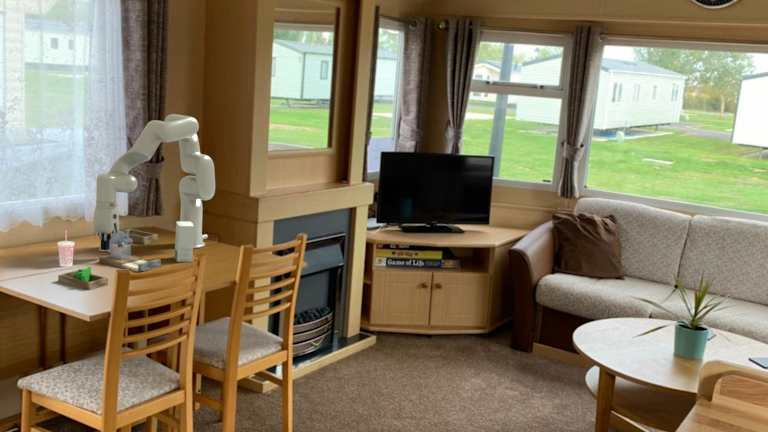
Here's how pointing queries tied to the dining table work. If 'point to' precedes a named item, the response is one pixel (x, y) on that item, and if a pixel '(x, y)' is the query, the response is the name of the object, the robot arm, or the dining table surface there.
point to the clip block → (120, 251)
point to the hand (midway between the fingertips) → (104, 249)
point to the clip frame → (141, 236)
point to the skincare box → (184, 241)
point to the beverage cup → (66, 252)
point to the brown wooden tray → (95, 281)
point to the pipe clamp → (83, 274)
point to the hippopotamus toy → (119, 240)
